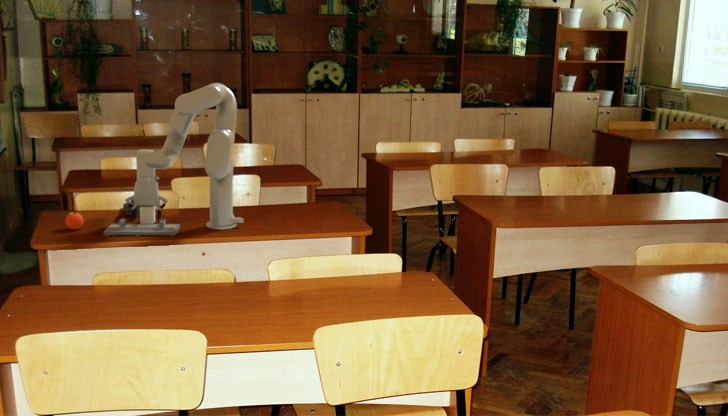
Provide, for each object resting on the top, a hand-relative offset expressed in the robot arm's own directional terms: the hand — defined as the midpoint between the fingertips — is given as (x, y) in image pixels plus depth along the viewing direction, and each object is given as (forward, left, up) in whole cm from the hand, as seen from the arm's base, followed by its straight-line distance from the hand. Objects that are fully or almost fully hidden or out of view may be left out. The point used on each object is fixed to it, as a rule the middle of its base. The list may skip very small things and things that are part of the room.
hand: (147, 218), depth 318 cm
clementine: (+28, +9, -3) cm, 29 cm away
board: (0, +12, -2) cm, 12 cm away
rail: (0, +12, -1) cm, 12 cm away
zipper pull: (+9, -18, -3) cm, 20 cm away
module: (0, 0, -2) cm, 2 cm away
